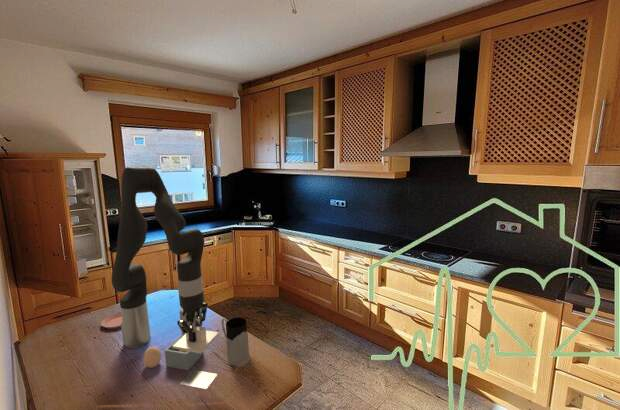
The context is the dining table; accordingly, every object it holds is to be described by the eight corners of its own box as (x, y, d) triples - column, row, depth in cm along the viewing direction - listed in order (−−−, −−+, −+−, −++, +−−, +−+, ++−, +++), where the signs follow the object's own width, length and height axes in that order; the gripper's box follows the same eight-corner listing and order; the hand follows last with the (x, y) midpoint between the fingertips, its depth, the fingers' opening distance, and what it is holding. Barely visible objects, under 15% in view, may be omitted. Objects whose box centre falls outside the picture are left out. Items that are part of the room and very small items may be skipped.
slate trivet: (180, 385, 103) (180, 383, 103) (192, 371, 109) (192, 369, 109) (206, 390, 100) (206, 389, 100) (217, 375, 107) (217, 374, 107)
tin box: (166, 367, 111) (164, 350, 110) (182, 351, 120) (181, 335, 119) (188, 371, 109) (186, 354, 108) (203, 355, 118) (202, 338, 117)
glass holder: (235, 370, 109) (232, 332, 107) (214, 353, 119) (211, 318, 116) (255, 358, 116) (253, 321, 113) (233, 343, 125) (231, 309, 122)
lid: (172, 348, 99) (171, 334, 98) (192, 330, 108) (191, 317, 108) (200, 353, 96) (200, 339, 95) (218, 334, 106) (217, 321, 105)
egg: (145, 363, 114) (142, 345, 113) (162, 359, 116) (160, 341, 115) (143, 373, 109) (141, 354, 107) (161, 368, 111) (159, 349, 110)
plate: (128, 311, 153) (128, 307, 152) (142, 320, 144) (142, 316, 144) (96, 324, 141) (95, 320, 141) (109, 335, 133) (108, 330, 133)
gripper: (194, 280, 107) (198, 326, 110) (166, 299, 94) (172, 350, 96) (213, 282, 105) (216, 328, 108) (187, 301, 92) (192, 353, 95)
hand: (195, 338), depth 102 cm, fingers closed on lid, 2 cm apart
